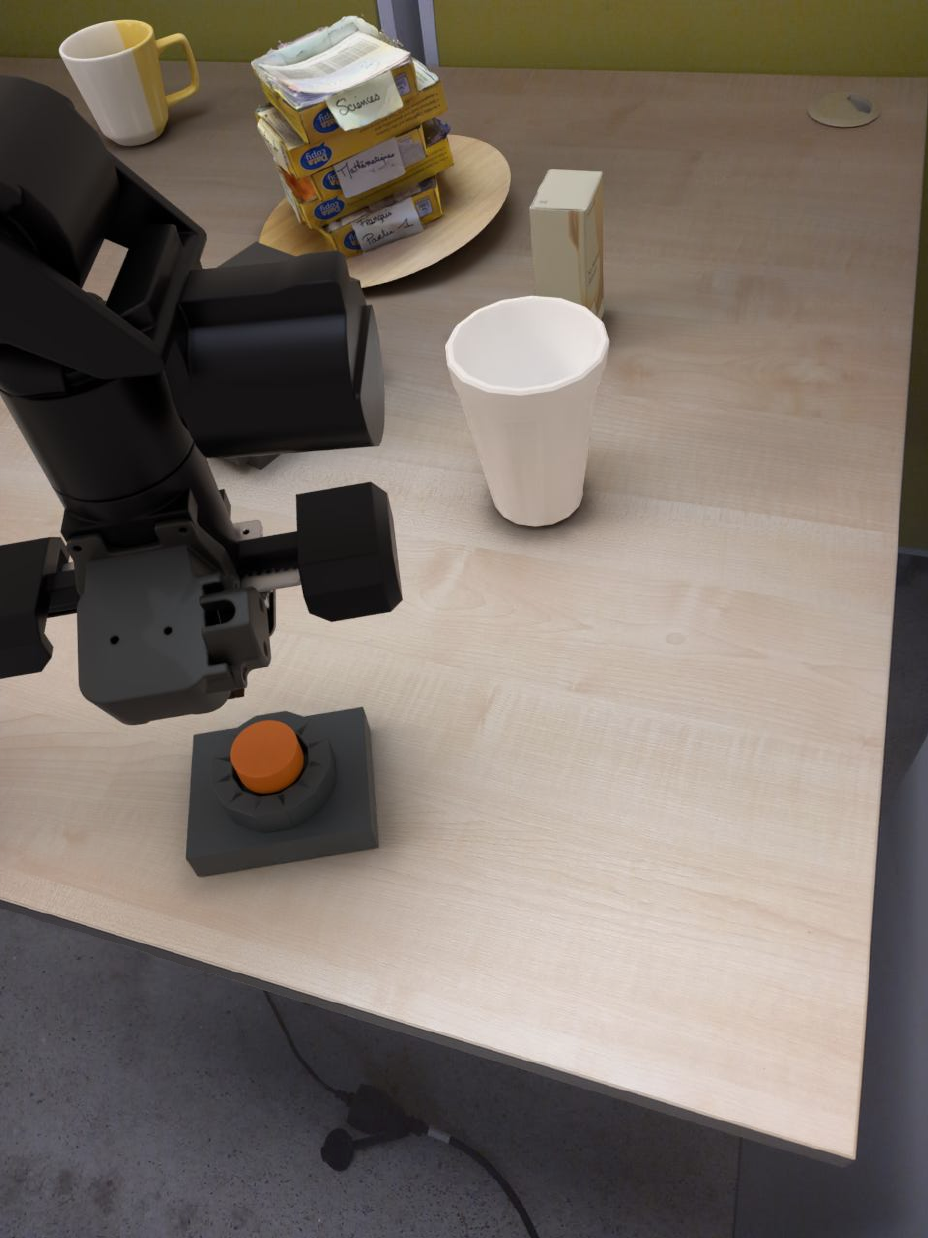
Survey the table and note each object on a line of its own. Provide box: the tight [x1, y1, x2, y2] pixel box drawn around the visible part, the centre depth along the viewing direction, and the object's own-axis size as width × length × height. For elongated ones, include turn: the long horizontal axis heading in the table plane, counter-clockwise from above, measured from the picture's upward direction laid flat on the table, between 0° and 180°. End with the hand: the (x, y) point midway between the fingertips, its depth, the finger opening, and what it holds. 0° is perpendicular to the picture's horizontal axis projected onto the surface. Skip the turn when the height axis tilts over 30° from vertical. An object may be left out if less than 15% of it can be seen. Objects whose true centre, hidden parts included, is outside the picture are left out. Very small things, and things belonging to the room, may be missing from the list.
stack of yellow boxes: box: [250, 13, 512, 289], centre depth 92 cm, size 25×25×17 cm
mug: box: [58, 19, 201, 147], centre depth 114 cm, size 14×10×10 cm
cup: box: [444, 295, 610, 527], centre depth 67 cm, size 10×10×13 cm
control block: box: [185, 706, 380, 878], centre depth 57 cm, size 10×8×4 cm
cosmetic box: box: [529, 168, 605, 321], centre depth 80 cm, size 6×4×12 cm
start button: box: [230, 720, 304, 794], centre depth 55 cm, size 4×4×2 cm
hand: (236, 691), depth 51 cm, fingers closed
